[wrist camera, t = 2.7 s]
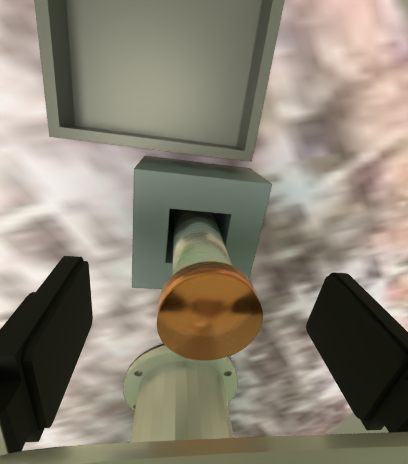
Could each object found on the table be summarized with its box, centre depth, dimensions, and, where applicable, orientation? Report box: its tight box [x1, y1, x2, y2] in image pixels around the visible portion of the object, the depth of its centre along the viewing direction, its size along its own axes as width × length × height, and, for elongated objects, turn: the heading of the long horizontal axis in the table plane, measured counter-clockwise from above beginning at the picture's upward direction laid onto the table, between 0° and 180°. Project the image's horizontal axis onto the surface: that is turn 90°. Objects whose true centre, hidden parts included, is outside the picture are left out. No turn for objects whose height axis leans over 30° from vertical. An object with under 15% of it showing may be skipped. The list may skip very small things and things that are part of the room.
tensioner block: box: [132, 156, 272, 289], centre depth 18 cm, size 8×8×5 cm
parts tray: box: [34, 0, 284, 162], centre depth 14 cm, size 12×12×3 cm
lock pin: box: [157, 209, 263, 361], centre depth 15 cm, size 4×4×12 cm
